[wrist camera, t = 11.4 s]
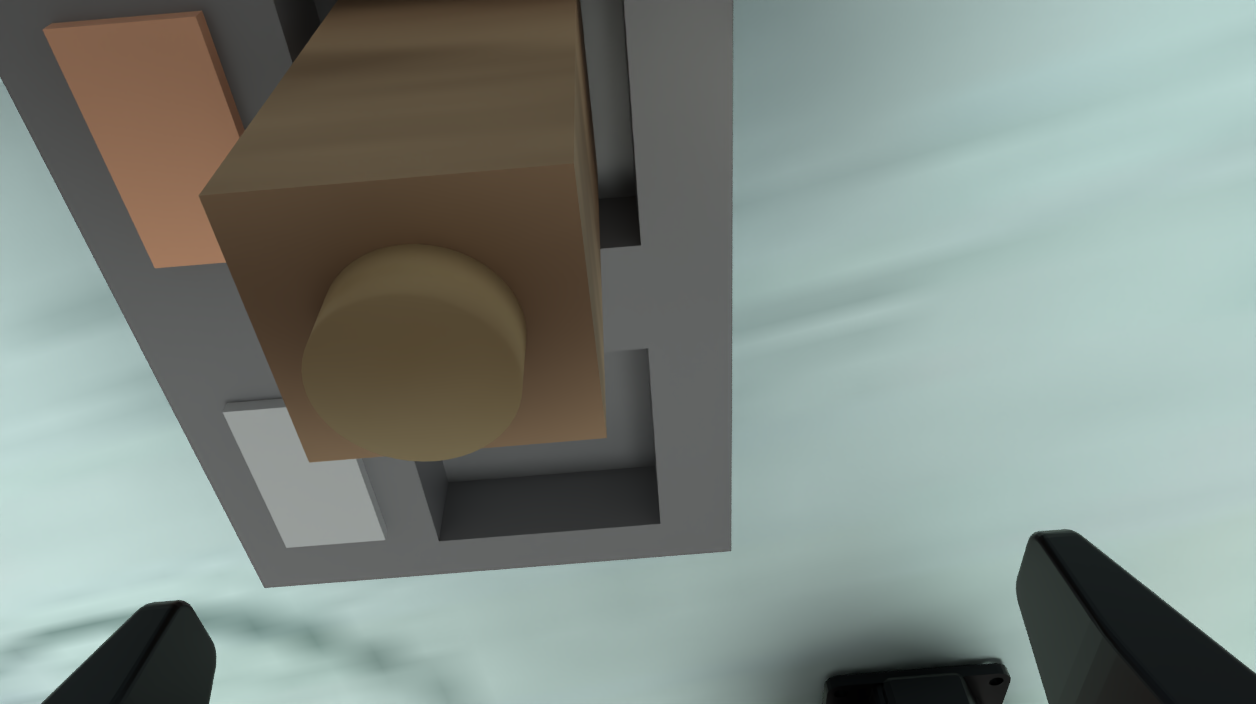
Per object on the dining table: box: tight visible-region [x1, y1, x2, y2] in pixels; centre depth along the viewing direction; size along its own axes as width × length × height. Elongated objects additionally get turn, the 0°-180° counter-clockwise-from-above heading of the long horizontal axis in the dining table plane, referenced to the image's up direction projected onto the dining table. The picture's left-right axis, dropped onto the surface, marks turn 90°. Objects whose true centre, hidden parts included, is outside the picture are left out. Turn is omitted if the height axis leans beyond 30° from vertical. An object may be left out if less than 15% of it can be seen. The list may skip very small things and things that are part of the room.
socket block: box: [0, 0, 733, 588], centre depth 19 cm, size 16×12×3 cm
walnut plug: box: [199, 0, 607, 463], centre depth 13 cm, size 4×4×9 cm
